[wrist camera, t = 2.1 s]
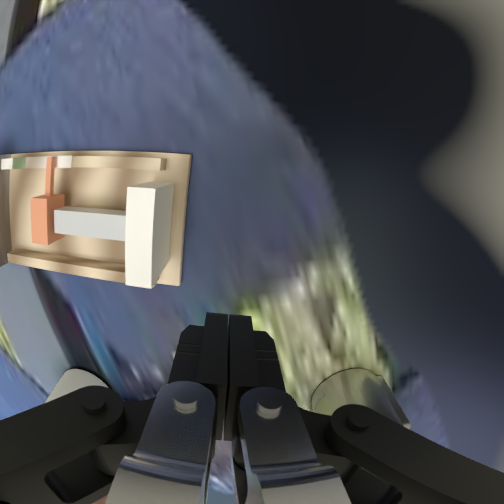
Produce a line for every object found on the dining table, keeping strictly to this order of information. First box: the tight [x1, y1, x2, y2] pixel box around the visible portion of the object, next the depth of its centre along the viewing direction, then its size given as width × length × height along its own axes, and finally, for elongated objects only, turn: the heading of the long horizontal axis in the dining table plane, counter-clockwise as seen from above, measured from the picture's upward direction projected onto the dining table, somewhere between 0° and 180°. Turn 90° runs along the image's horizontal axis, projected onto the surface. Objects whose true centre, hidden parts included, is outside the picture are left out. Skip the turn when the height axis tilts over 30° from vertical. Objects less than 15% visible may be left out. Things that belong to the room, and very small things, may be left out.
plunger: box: [54, 181, 174, 289], centre depth 21 cm, size 10×7×6 cm
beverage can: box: [45, 369, 108, 403], centre depth 26 cm, size 8×8×12 cm
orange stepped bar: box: [31, 156, 65, 245], centre depth 21 cm, size 2×8×3 cm, turn 172°
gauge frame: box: [0, 151, 192, 287], centre depth 21 cm, size 24×12×9 cm, turn 82°
